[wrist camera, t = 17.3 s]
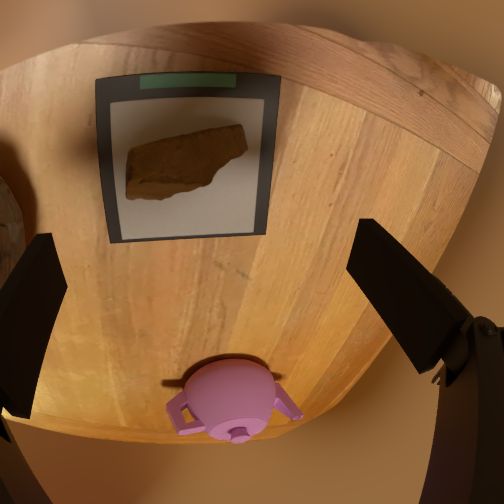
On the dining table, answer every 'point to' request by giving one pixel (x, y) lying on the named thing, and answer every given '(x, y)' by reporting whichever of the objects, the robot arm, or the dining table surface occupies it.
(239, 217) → the scale
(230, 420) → the teapot
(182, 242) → the dining table surface
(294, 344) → the dining table surface
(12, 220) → the bowl
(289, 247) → the dining table surface
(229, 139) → the rock
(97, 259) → the dining table surface
